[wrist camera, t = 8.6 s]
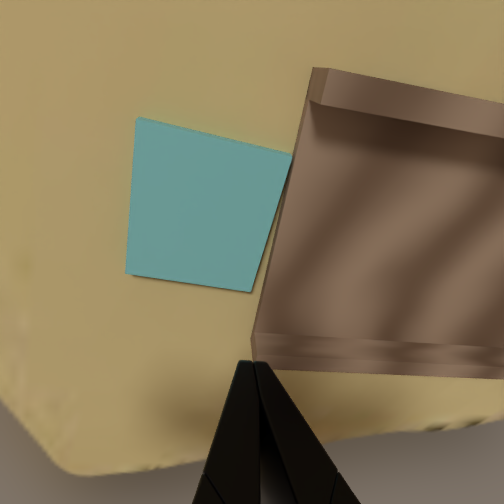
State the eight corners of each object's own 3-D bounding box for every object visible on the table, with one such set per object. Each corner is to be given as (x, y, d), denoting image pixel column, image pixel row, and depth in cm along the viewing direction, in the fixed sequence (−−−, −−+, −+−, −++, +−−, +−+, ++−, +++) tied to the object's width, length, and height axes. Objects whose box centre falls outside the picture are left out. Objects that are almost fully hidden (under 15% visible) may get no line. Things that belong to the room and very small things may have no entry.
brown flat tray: (676, 141, 17) (740, 152, 15) (505, 353, 25) (531, 380, 23) (312, 67, 14) (329, 68, 11) (250, 339, 21) (253, 368, 19)
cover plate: (287, 150, 16) (292, 156, 15) (248, 280, 20) (250, 292, 19) (141, 115, 14) (136, 119, 13) (130, 261, 18) (125, 273, 17)
